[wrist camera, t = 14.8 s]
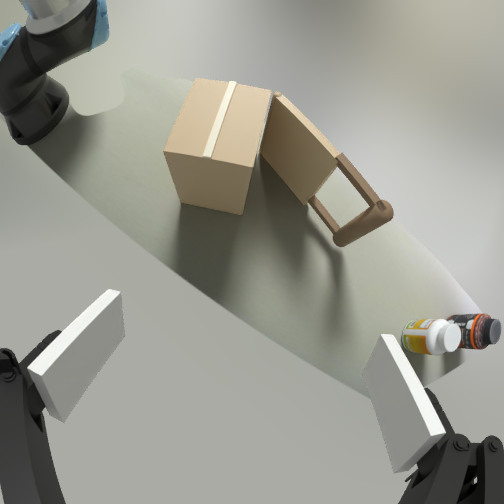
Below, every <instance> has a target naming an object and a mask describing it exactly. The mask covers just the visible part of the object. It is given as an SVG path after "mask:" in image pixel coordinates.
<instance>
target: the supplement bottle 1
mask: <svg viewBox="0 0 504 504" xmlns="http://www.w3.org/2000/svg"><path fill="white" fill-rule="evenodd" d="M460 340H461V331H460V328H459V326H458V325H457V324H449V322H448V321H446V320H444V319H423V320H412V321H410V322H409V323H408V324H407V325H406V326H405V328H404V330H403V334H402V342H403V346H404V347H405V349H406V350H408V351H410V352H414V353H422V354H429V355H441V354H443V353H445V352H453V351H455V350H456V349H457V347H458V346H459V344H460Z"/></svg>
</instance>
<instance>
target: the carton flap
mask: <svg viewBox="0 0 504 504" xmlns="http://www.w3.org/2000/svg"><path fill="white" fill-rule="evenodd" d="M259 153H260V154H261V155H262V156H263V157H264V158H265V159H266V161H267V162H268V163H269V164H270V165H271V166H272V168H273V169H274V170H275V171H276V172H277V173H278V175H279V176H280V177H281V178H282V179H283V181H284V182H285V183H286V184H287V185H288V187H289V188H290V189H291V190H292V191H293V193H294V194H295V195H296V196H297V197H298V199H299V200H300V201H301V202H302V204H303V205H306V204H307V203H309V204H310V205H311V206H312V208H313V209H314V210H315V211H316V213H317V214H318V215H319V217H320V218H321V219H322V220H323V222H324V223H325V224H326V226H327V227H328V228H329V229H330V231H331V232H332V233H333V241H334V243H335V244H336V245H337V246H338V247H344V246H346V245H348V244H350V243H351V242H353V241H355V240H357V239H359V238H360V237H362V236H364V235H366V234H368V233H369V232H371V231H373V230H375V229H376V228H378V227H380V226H382V225H383V224H385V223H387V222H389V221H390V220H391V219H392V218H393V208H392V206H391V205H390V204H389V203H388V202H387V201H385V200H380V198H379V197H378V196H377V194H376V193H375V192H374V191H373V189H372V188H371V187H370V185H369V184H368V183H367V182H366V180H365V179H364V178H363V177H362V175H361V174H360V173H359V172H358V171H357V170H356V168H355V167H354V166H353V165H352V163H351V162H350V161H349V160H348V159H347V158H346V157H345V155H344V154H343V153H341V154H340V153H339V152H338V151H337V150H336V149H335V147H334V146H333V145H332V144H331V143H330V142H329V141H328V140H327V139H326V138H325V137H324V135H323V134H322V133H321V132H320V131H319V130H318V129H317V128H316V127H315V126H314V125H313V124H312V123H311V122H310V121H309V120H308V119H307V118H306V117H305V116H304V115H303V114H302V113H301V112H300V111H299V110H298V109H297V108H296V107H295V106H294V105H293V104H292V103H291V102H290V101H289V100H288V99H287V98H285V97H284V96H283V95H282V94H281V93H280V92H274V94H273V97H272V101H271V106H270V109H269V113H268V117H267V121H266V125H265V129H264V133H263V137H262V141H261V145H260V149H259ZM337 166H338V168H339V169H340V170H341V171H342V172H343V174H344V175H345V176H346V177H347V178H348V180H349V181H350V182H351V183H352V184H353V186H354V187H355V188H356V189H357V191H358V192H359V193H360V194H361V196H362V197H363V198H364V200H365V201H366V202H367V203H368V205H369V206H370V207H369V208H368V209H366V210H365V211H364V212H362V213H361V214H360V215H358V216H357V217H355V218H354V219H353V220H351V221H350V222H349V223H347V224H346V225H344V226H343V227H342V228H340V227H339V225H338V224H337V223H336V221H335V220H334V219H333V218H332V216H331V215H330V214H329V213H328V211H327V210H326V209H325V207H324V206H323V205H322V204H321V202H320V201H319V200H318V199H317V197H316V196H315V194H316V193H317V192H318V190H319V189H320V188H321V186H322V185H323V184H324V183H325V181H326V180H327V179H328V178H329V176H330V175H331V174H332V173H333V171H334V170H335V169H336V167H337Z"/></svg>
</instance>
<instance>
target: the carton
mask: <svg viewBox="0 0 504 504" xmlns="http://www.w3.org/2000/svg"><path fill="white" fill-rule="evenodd" d="M270 94H271V91H270V90H266V89H261V88H256V87H251V86H246V85H241V84H237V82H234V81H230V82H223V81H216V80H209V79H201V78H196V80H195V81H194V83H193V85H192V87H191V89H190V91H189V93H188V95H187V98H186V100H185V102H184V104H183V106H182V108H181V110H180V112H179V115H178V117H177V119H176V121H175V124H174V126H173V128H172V131H171V133H170V135H169V138H168V140H167V143H166V145H165V147H164V150H163V152H164V155H165V158H166V161H167V164H168V167H169V170H170V173H171V176H172V179H173V182H174V185H175V188H176V190H177V193H178V196H179V199H180V202H181V203H185V204H190V205H195V206H199V207H204V208H209V209H214V210H219V211H223V212H228V213H233V214H237V215H242V214H243V210H244V205H245V201H246V197H247V192H248V188H249V183H250V179H251V175H252V170H253V166H254V162H255V158H256V153H257V149H258V145H259V141H260V136H261V132H262V128H263V124H264V120H265V115H266V111H267V107H268V103H269V99H270Z"/></svg>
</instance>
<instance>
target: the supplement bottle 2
mask: <svg viewBox="0 0 504 504" xmlns="http://www.w3.org/2000/svg"><path fill="white" fill-rule="evenodd" d="M446 321H448V322H449V324H457V325H458V326H459V328H460V331H461V340H460V344H459V346H458V347H457V348H465V349H484V348H486V347H487V346H488V345H489V344H496V343H497V342H498V340H499V338H500V334H501V323H500V321H499V320H498V319H491V317H490V316H489V315H488V314H466V315H452V316H450V317H449V318H448V319H447V320H446Z"/></svg>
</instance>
